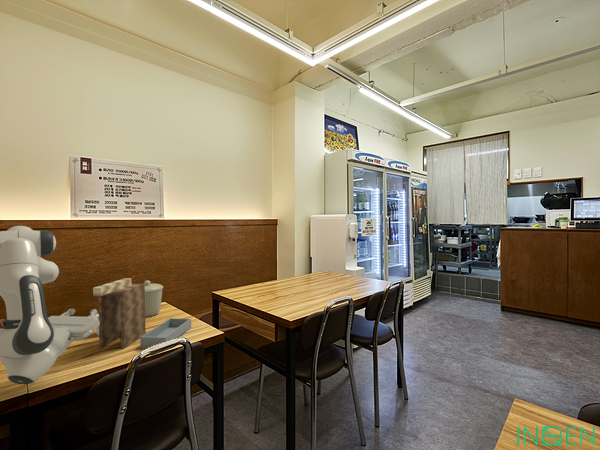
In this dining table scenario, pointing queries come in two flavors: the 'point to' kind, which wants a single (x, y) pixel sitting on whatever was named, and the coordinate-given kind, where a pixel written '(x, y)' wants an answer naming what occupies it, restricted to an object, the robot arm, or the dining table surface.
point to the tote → (165, 332)
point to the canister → (152, 298)
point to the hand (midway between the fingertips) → (84, 310)
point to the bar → (111, 287)
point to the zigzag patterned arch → (122, 315)
